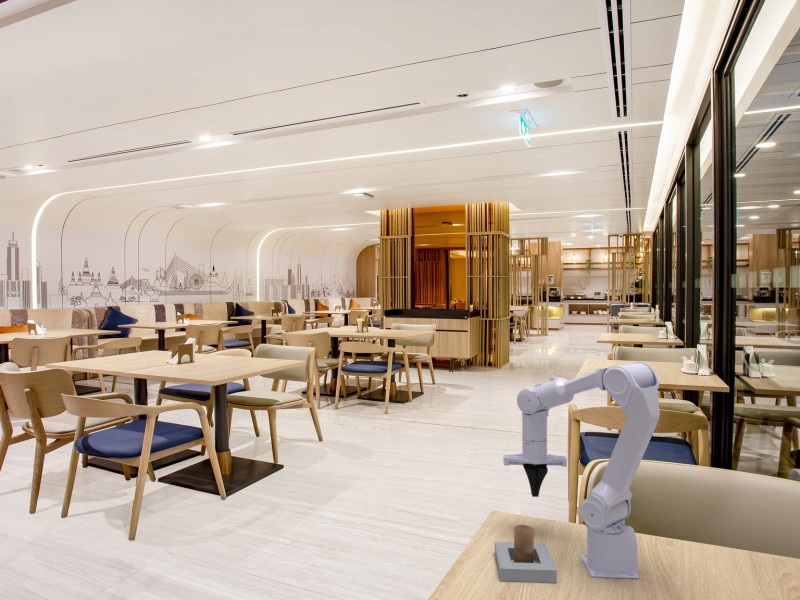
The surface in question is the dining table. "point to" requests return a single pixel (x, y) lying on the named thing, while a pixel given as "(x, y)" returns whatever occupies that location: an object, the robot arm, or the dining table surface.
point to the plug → (523, 544)
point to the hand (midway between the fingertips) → (534, 495)
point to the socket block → (525, 564)
